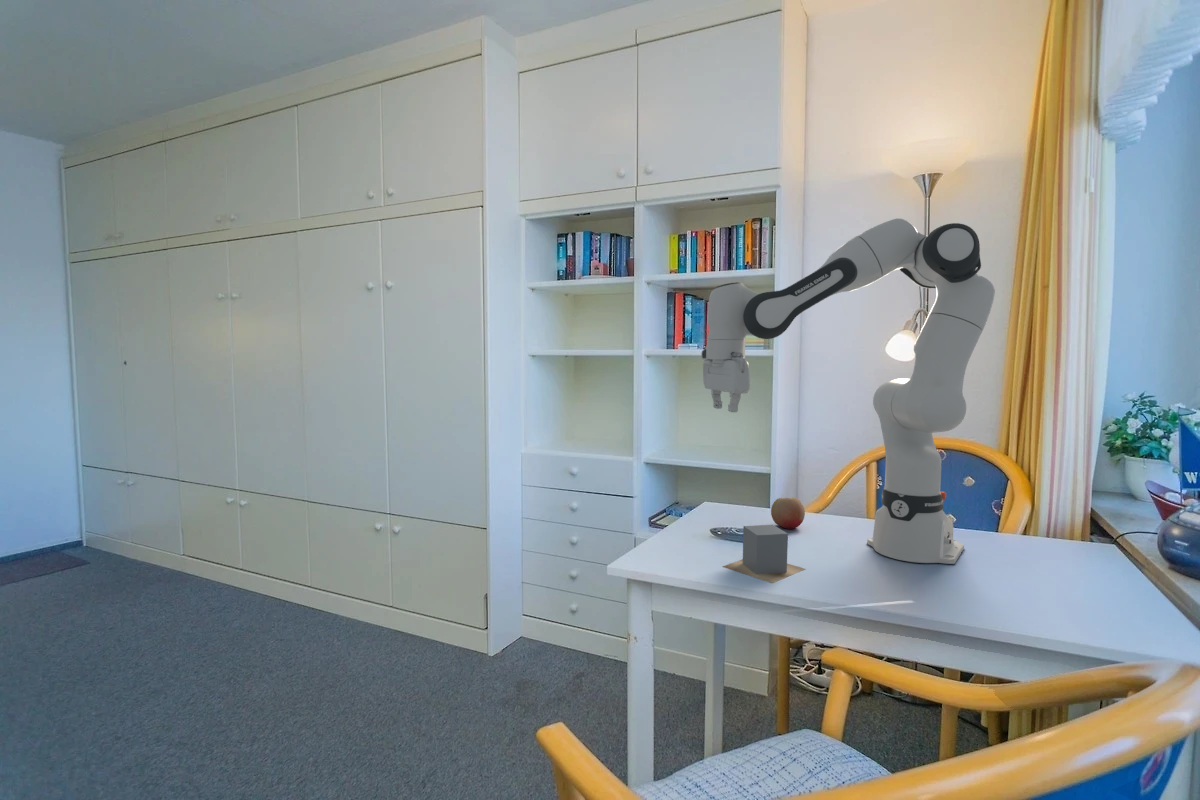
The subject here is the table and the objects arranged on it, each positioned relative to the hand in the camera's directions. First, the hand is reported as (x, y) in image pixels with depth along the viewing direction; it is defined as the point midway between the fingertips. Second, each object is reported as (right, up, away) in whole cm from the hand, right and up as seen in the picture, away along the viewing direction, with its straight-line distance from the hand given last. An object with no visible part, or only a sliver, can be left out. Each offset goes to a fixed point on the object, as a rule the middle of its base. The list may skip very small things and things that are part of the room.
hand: (725, 410), depth 149 cm
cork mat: (+4, -33, -20) cm, 39 cm away
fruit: (+18, -31, +10) cm, 37 cm away
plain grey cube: (+4, -32, -20) cm, 38 cm away
